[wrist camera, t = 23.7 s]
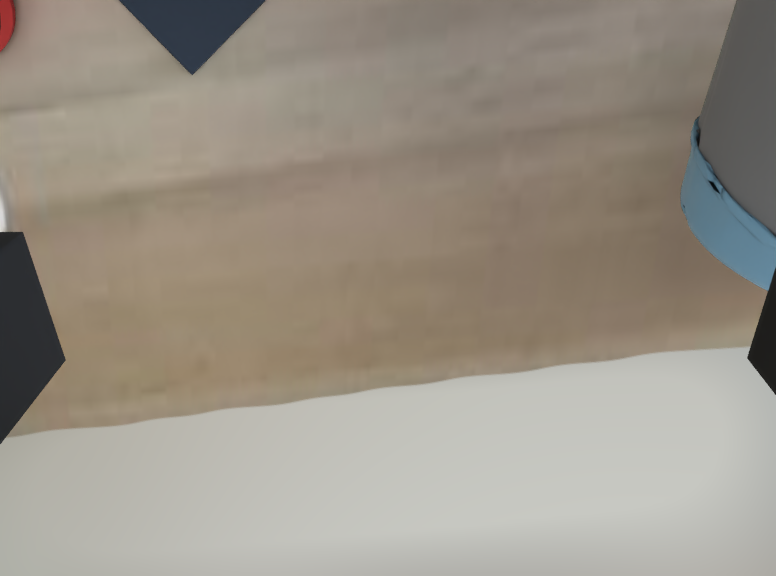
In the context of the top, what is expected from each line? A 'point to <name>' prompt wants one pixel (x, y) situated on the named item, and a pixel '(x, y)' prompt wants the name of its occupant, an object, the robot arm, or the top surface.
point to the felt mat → (192, 25)
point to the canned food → (6, 21)
